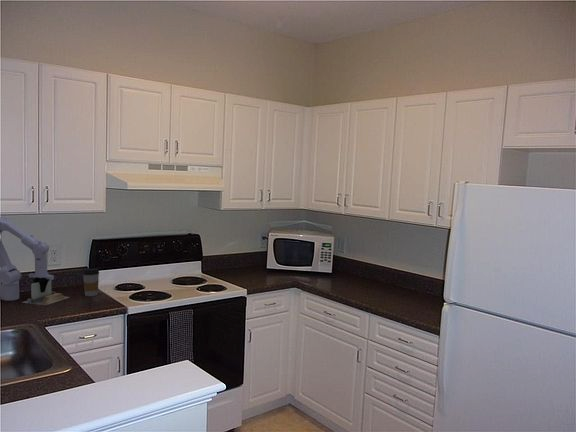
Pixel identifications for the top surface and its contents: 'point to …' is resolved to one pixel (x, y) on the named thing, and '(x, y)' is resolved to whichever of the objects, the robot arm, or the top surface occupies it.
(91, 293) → the coffee cup
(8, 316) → the top surface
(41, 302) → the rack
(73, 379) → the top surface
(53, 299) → the offcut lower
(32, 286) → the sheet
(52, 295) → the offcut upper
